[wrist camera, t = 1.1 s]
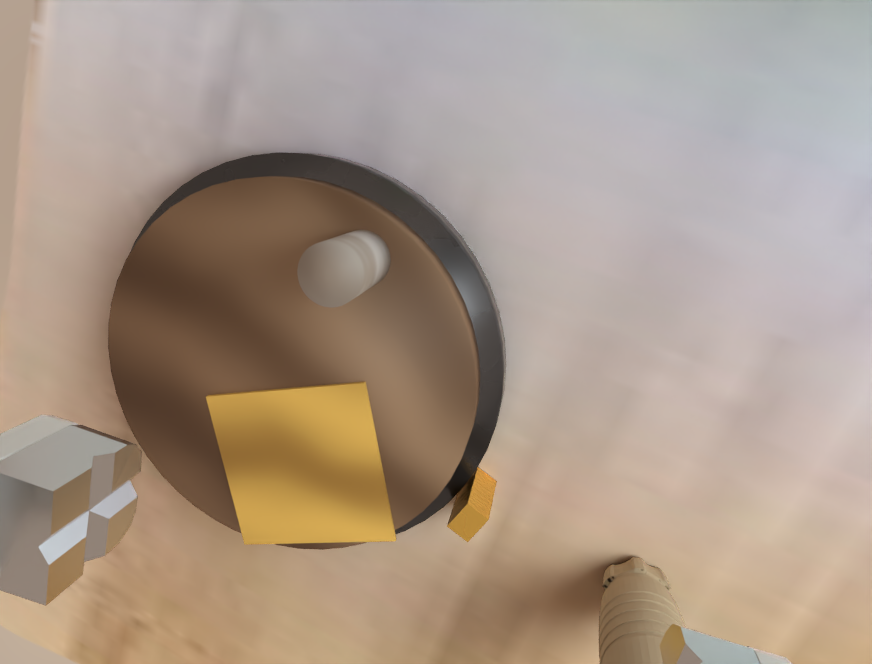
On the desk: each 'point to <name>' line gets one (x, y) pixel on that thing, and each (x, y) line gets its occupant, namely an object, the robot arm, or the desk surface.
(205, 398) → the disc
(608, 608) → the handle
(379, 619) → the desk surface
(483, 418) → the wheel base
